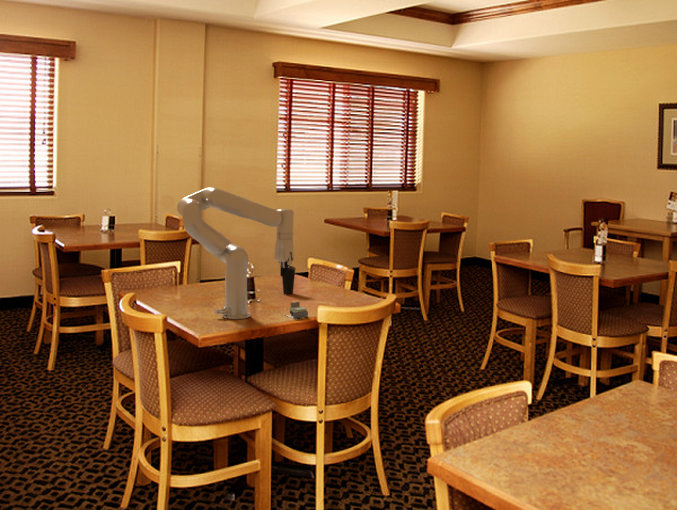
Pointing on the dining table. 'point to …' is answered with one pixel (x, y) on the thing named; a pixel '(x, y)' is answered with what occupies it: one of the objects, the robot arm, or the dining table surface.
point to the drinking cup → (289, 281)
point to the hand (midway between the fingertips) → (284, 276)
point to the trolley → (296, 308)
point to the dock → (299, 315)
